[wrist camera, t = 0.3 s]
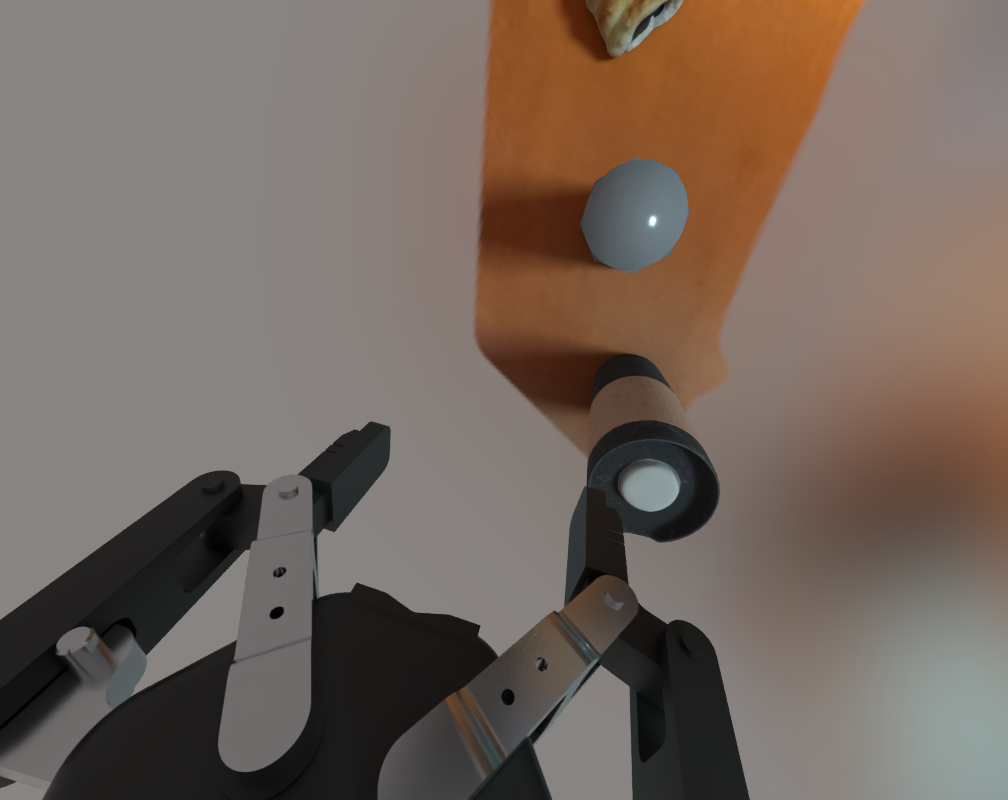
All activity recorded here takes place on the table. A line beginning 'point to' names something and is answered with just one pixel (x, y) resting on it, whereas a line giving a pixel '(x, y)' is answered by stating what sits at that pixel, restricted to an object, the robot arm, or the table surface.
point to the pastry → (629, 20)
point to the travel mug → (647, 453)
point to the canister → (635, 215)
